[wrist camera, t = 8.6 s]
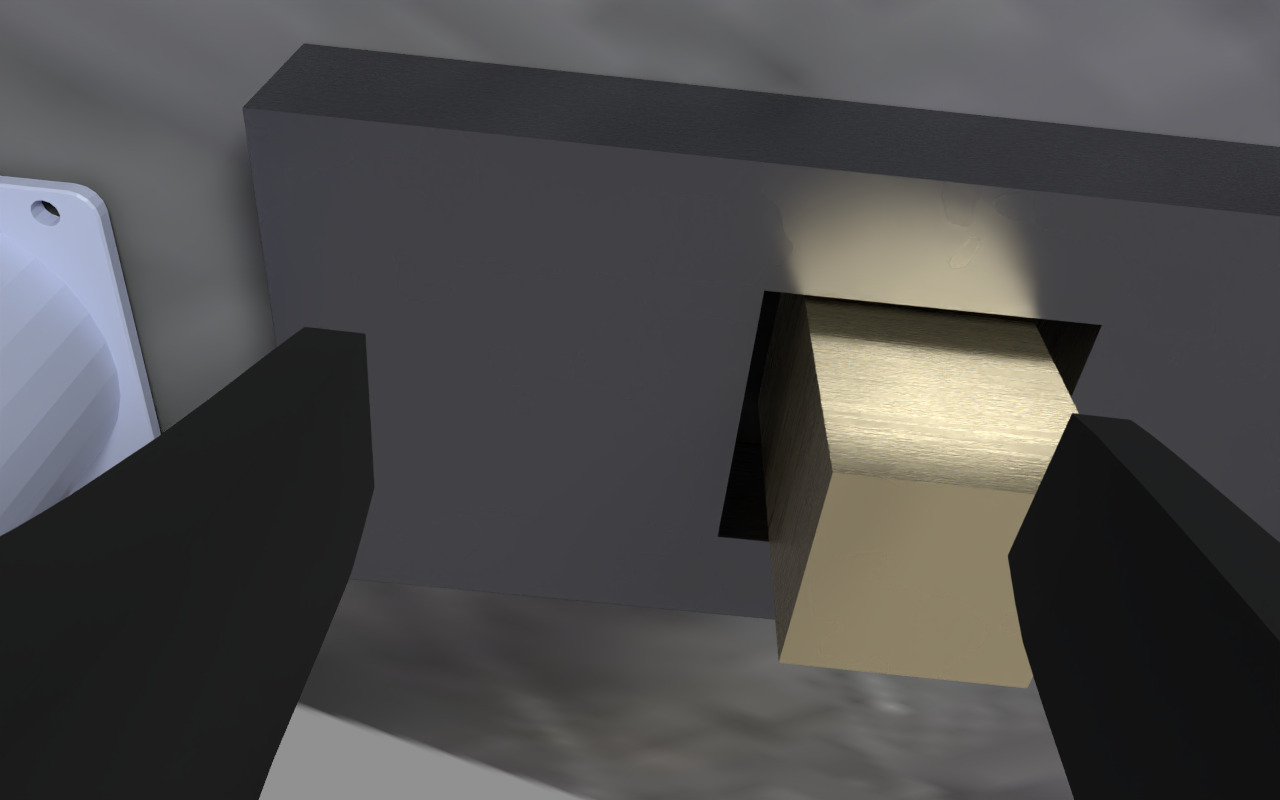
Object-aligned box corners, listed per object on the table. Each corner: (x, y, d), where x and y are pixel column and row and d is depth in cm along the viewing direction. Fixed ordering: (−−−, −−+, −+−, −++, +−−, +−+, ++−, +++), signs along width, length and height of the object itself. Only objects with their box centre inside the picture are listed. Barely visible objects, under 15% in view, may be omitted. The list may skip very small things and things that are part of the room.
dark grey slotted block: (347, 479, 24) (308, 574, 21) (303, 43, 18) (242, 107, 15) (1287, 571, 24) (1352, 674, 22) (1550, 175, 18) (1680, 258, 16)
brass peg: (757, 399, 22) (778, 662, 16) (793, 231, 20) (832, 472, 14) (943, 419, 22) (1026, 688, 16) (1001, 255, 20) (1122, 504, 14)
